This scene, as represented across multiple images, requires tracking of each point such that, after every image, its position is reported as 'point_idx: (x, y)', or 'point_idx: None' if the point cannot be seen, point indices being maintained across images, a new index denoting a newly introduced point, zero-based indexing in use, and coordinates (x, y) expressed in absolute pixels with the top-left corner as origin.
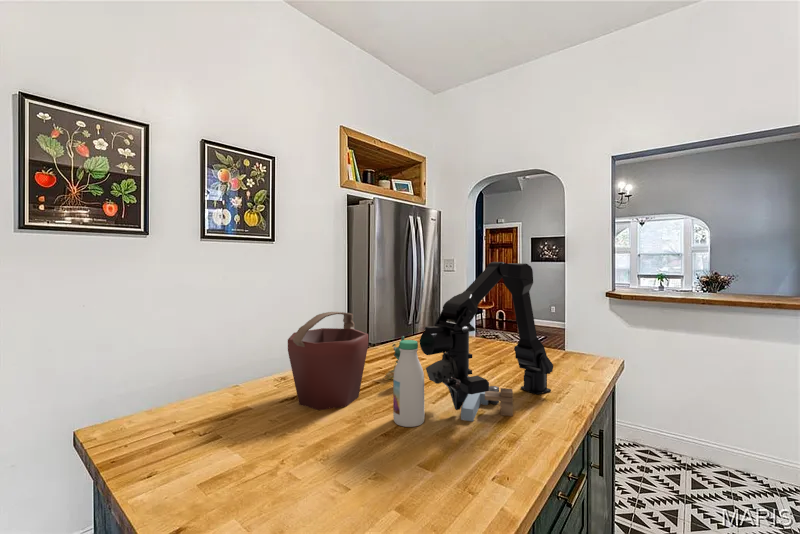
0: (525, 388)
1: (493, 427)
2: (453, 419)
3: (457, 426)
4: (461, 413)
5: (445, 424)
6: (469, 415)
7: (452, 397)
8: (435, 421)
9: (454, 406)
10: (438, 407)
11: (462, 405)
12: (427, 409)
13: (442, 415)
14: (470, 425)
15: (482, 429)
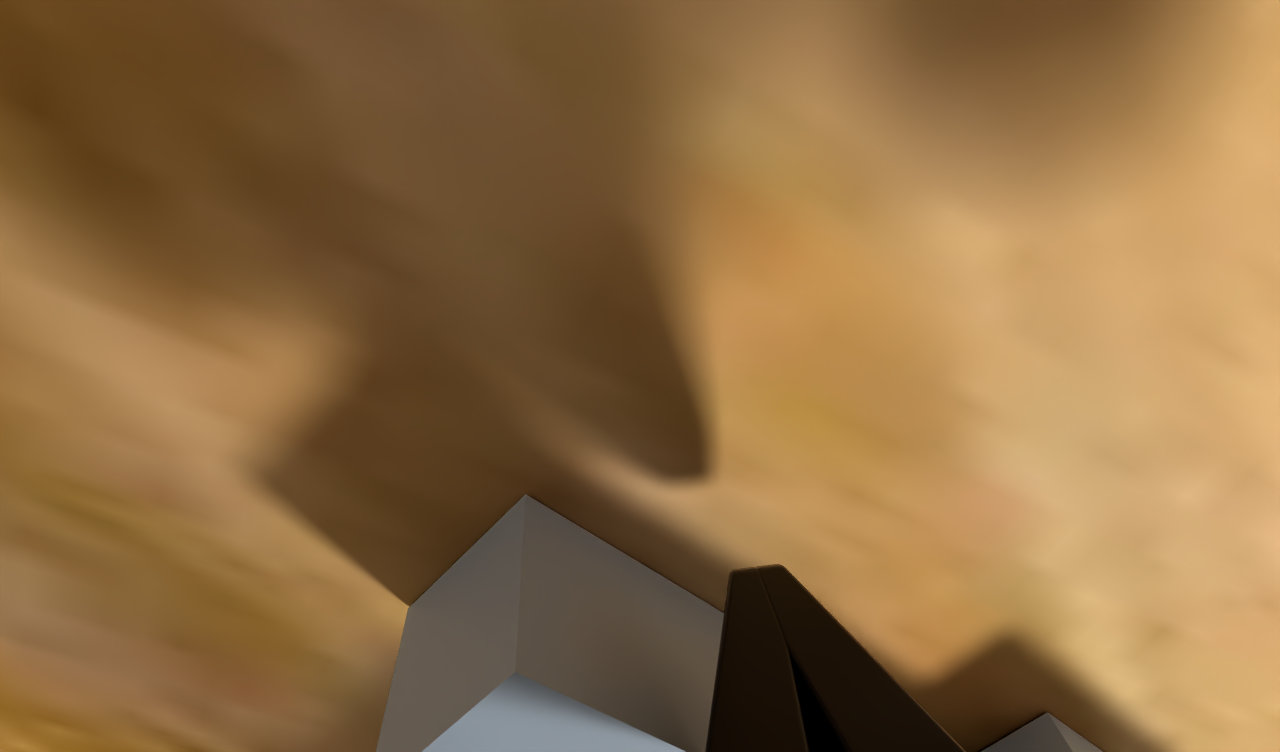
0: None
1: (154, 731)
2: (588, 395)
3: (268, 331)
4: (516, 580)
5: (417, 153)
6: (426, 650)
7: (897, 747)
8: (642, 6)
9: (797, 593)
10: (1155, 380)
11: (627, 724)
12: (1252, 148)
13: (834, 295)
14: (272, 528)
15: (93, 610)
